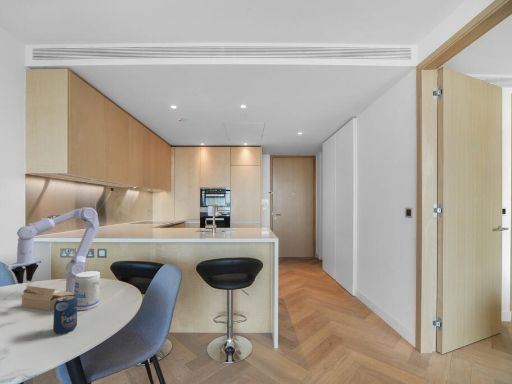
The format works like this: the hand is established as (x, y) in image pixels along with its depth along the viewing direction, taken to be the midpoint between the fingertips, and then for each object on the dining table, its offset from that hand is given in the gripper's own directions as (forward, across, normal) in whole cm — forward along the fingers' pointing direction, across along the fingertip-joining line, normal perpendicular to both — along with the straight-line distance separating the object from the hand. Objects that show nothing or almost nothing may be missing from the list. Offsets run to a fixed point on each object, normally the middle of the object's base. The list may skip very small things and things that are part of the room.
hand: (24, 282), depth 117 cm
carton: (+10, -2, +11) cm, 15 cm away
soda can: (+10, +15, +41) cm, 45 cm away
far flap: (+4, +2, +11) cm, 12 cm away
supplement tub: (+10, -4, +30) cm, 32 cm away
